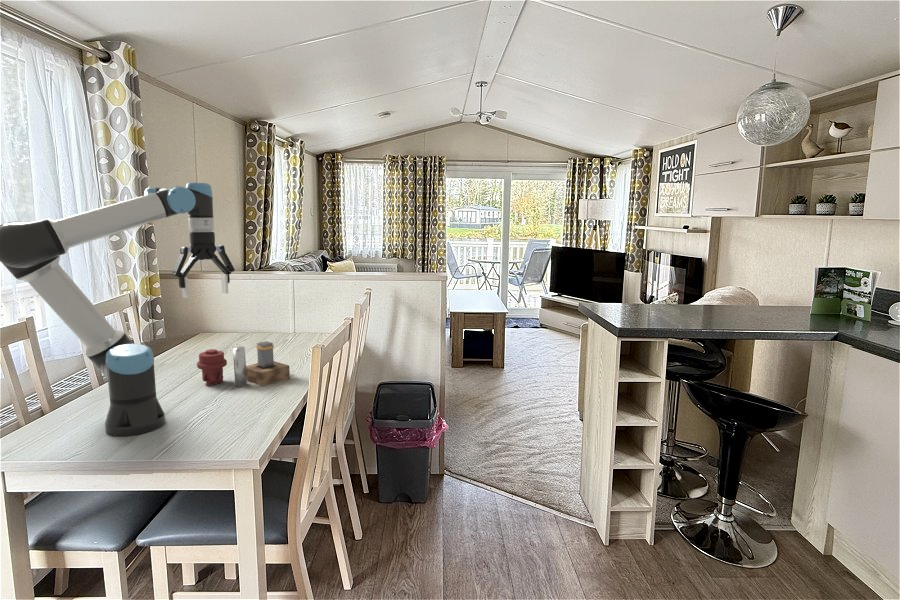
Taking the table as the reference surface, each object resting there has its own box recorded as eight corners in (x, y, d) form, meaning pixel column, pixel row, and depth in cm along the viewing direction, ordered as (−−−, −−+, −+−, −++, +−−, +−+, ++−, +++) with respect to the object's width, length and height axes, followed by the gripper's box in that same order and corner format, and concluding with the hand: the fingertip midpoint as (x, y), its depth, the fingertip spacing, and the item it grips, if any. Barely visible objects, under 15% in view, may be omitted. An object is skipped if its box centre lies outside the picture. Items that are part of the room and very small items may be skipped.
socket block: (262, 386, 193) (261, 372, 192) (243, 379, 200) (242, 366, 199) (289, 378, 202) (289, 365, 201) (270, 372, 209) (270, 360, 208)
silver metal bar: (239, 387, 191) (236, 349, 189) (232, 385, 193) (230, 348, 191) (249, 384, 194) (247, 347, 192) (242, 382, 196) (240, 345, 194)
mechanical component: (233, 379, 199) (216, 388, 190) (209, 378, 201) (192, 386, 192) (231, 348, 197) (214, 354, 188) (207, 346, 199) (189, 353, 190)
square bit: (264, 381, 198) (263, 345, 196) (258, 379, 200) (256, 343, 198) (275, 378, 201) (273, 342, 199) (268, 376, 204) (266, 341, 202)
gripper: (168, 232, 162) (173, 301, 165) (243, 230, 181) (246, 292, 185) (156, 231, 166) (162, 298, 170) (230, 230, 186) (234, 290, 189)
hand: (206, 295), depth 177 cm, fingers open, 13 cm apart
